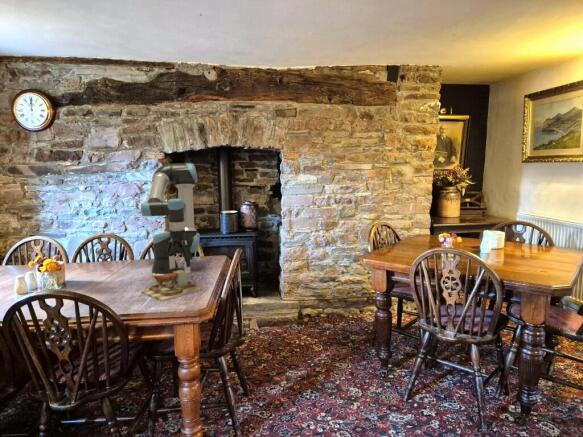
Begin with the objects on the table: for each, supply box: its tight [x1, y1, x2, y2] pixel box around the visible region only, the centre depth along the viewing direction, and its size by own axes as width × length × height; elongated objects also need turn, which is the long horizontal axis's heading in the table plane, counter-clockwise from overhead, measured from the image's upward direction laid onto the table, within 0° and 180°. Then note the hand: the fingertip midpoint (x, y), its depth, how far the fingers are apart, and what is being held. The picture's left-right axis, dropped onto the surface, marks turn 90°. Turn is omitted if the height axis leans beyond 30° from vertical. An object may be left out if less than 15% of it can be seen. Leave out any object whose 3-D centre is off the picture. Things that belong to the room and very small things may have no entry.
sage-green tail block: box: [173, 269, 189, 287], centre depth 201 cm, size 5×5×8 cm
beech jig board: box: [140, 280, 203, 302], centre depth 197 cm, size 20×22×2 cm
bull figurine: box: [149, 273, 178, 290], centre depth 194 cm, size 4×13×8 cm, turn 112°
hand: (180, 270), depth 200 cm, fingers open, 13 cm apart
